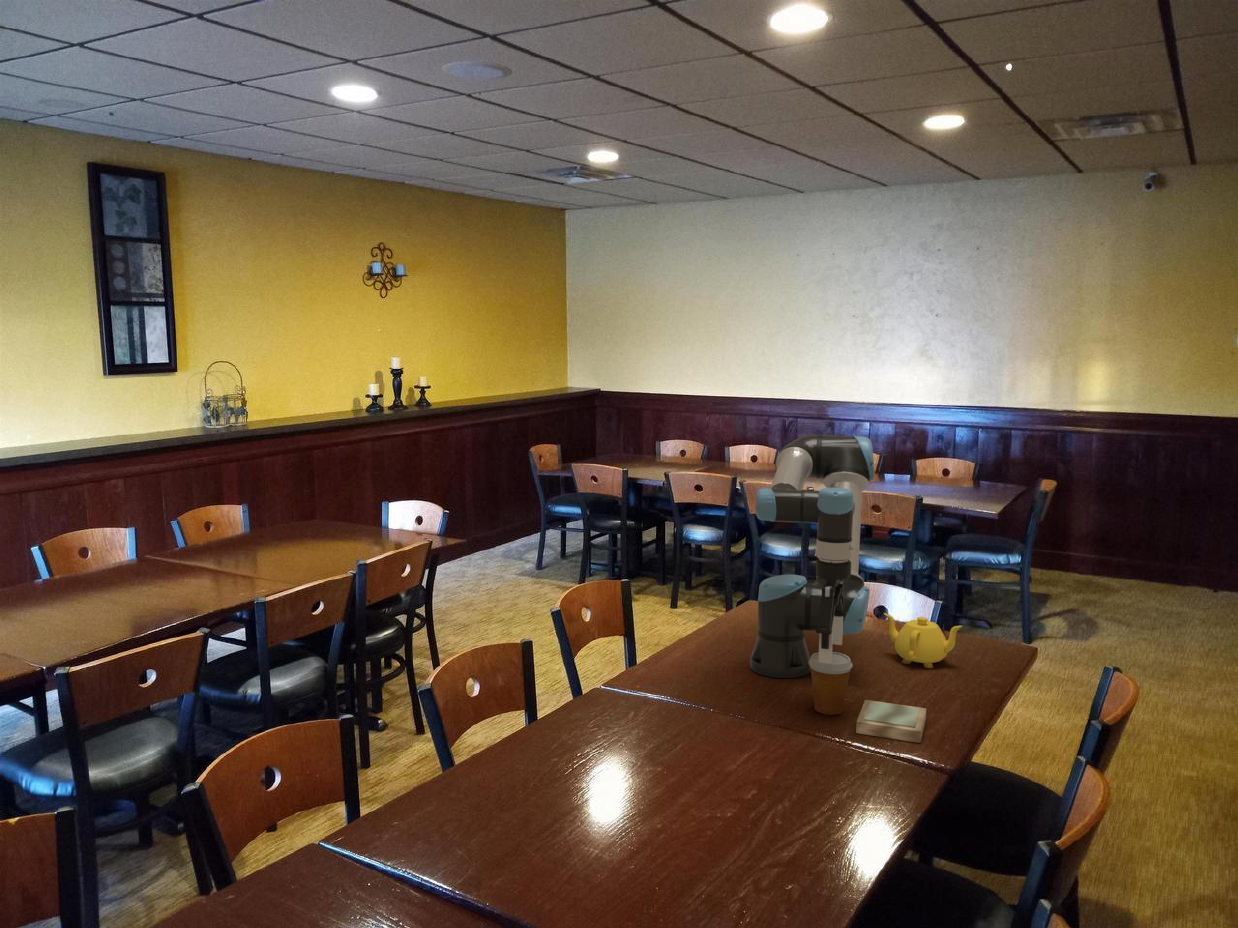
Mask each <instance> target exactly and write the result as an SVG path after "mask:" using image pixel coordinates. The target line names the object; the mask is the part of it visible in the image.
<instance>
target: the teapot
mask: <svg viewBox="0 0 1238 928" xmlns="http://www.w3.org/2000/svg"><path fill="white" fill-rule="evenodd" d="M883 615H884V616H885V617H886V618H887V620H888V625H889V627H888V629H889V630H888V633H889V638H890V640H891V641H892V643H893V644H894V649H895V651H896V653H897V654H898V655H899V656H900V657H901V658H903V660H901V663H902V664H904V665H906V664H907V665H909V664H910V665H911V663H912V662H915V663H921V664H923V667H924V668H927V669H933V668H934V663H938V662H941V661H942V660H944V658H945V657H946V656H947V655H948V653H950V652H951V651H952V650H953V649H954V648H955V645H956V636H957V631H958V630H959V629H961V628H962V627H963V625H955V626H953V627H951V629H950V631H949V637H948V639H947V638H946V637H945V635H944V632H943V631H942V629H941V628H940V626H939V625H938V624H937V623H936V622H934V621H930V620H929V619H928V618H927V617H924V616H919V617H916V619H913V620H912V619H911V620H907V622H906V623H904V625H902V627H901V629H900V630H899V631H898V630H897V628H896V622H895V618H894V617H893V616H892V615H890V614H889V613H887V612H883Z"/></svg>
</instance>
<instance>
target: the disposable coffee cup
mask: <svg viewBox="0 0 1238 928" xmlns="http://www.w3.org/2000/svg"><path fill="white" fill-rule="evenodd" d="M809 665H810V667H811V671H810V673H811V676H810V677H811V683H812V693H813V704H814V705H813V706H814V710H815V711H816V712H818V713H820V714H822V715H827V716H828V715H829V716H834V715H836V716H837V715H840V714H843V712H844V711H845V710H844V708H845V703H846V697H847V691H848V684H849V681H850V680H849V679H850V672H851V670H852V668H853V662H852V660H851V658H850V656H848V655H847V654H844V653H841V652H837V651H832V663H831V664H830V663H822V662H819V651H818V652H814V653H812V654H811V655H810V660H809Z"/></svg>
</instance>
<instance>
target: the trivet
mask: <svg viewBox="0 0 1238 928" xmlns="http://www.w3.org/2000/svg"><path fill="white" fill-rule="evenodd" d="M859 712H860V713H859V715H858V717H857V720H856V721H855V722H856V723H855V724H856V726H855V727H856V728H855V729H856V730H855V733H856V734H860V735H867V736H874V737H879V738H886V739H890V740H891V739H892V740H899V741H904V742H905V741H906V742H913V743H918V744H921V743H922V738H923V735H924V734H923V733H924V731H925V725H926V721H927V708H925V707H919V706H912V705H904V704H897V703H890V702H883V701H877V700H870V699H869V700H868V699H864V701H863V704H862V708H861V710H860V711H859Z"/></svg>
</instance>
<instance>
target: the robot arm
mask: <svg viewBox="0 0 1238 928" xmlns="http://www.w3.org/2000/svg"><path fill="white" fill-rule="evenodd" d="M874 458H875V457H874V450H873V443H872V440H871V439H870V438H869V437H867V436H861V435H860V436H858V435H854V434H853V435H826V434H809V435H804V436H801V437H799V438H797V439H795V440H792V441H791V442H789V443H788V444H786V445H785V446H783V447H782V449H781V450H780V451H779V453H778V455H777V458H776V460H775V467H776V472H775V473H774V477H773V479H772V482H771V484H770V487H767V488H765V487H764V488H759V489H758V490H757V492H756V497H755V516H756V518H757V519H758V520H761V521H766V522H767V521H769V522H771V523H773V522H780V523H781V522H782V523H801V524H802V523H803V524H804V523H805V524H816V525H817V526H816V527H817V535H816V544H815V545H816V547H815V549H816V550H815V556H816V558H817V559H816V560H815V575H816V581H815V583H808V580H807V578H806V576H803V575H798V574H781V575H775V576H771V577H768V578H766V579H763V580H762V581H761V582H760V584H759V587H758V598H757V602H758V606H757V607H758V613H757V614H758V615H757V638H756V641H755V643H754V646H753V648H752V652H751V653H750V654H751V655H750V657H749V658H750V659H749V660H750V661H749V667H750V669H751V670H752V671H753V672H754V673H756V674H759V675H762V676H765V677H770V678H778V679H795V678H800V677H804V676H806V675H808V674H809V673H811V667H810V665H809V660H810V658H811V655H810V653H809V650H808V649H809V648H808V647H807V646H808V645H807V644H806V643H807V642H806V639H805V636H806V631H808V632H810V631H811V632H815V633H816V634H819V637H818V638H819V639H818V652H819V662H822V663H830V664H831V663H832V652H833V645H837V646H842V645H843V636H844V635H858V634H860V633H862V632H863V630H864V627H865V624H866V619H867V618H866V617H867V613H868V608H869V600H870V593H871V591H870V589H871V588H869V587H867V586H865V580H864V578H863V577H862V576H861V575H859V568H860V567H859V564H860V543H861V542H860V541H861V526H862V525H861V523H862V522H861V521H862V520H861V519H862V503H863V501H862V499H863V491H865V490H866V489H867V488H868V487H869V482H871V481H874V479H875V462H874ZM807 478H810V479H823V481H822V483H823V485H824V486H825V488H821V489H820V490H807V489H806V490H805V489H804V486H805V482H806V480H807Z"/></svg>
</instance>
